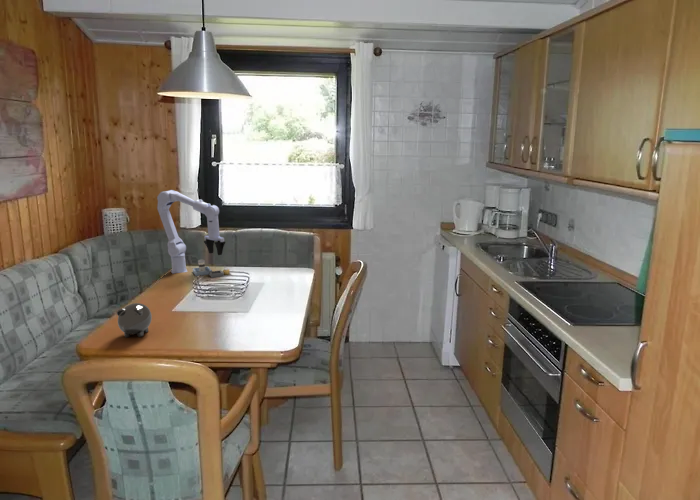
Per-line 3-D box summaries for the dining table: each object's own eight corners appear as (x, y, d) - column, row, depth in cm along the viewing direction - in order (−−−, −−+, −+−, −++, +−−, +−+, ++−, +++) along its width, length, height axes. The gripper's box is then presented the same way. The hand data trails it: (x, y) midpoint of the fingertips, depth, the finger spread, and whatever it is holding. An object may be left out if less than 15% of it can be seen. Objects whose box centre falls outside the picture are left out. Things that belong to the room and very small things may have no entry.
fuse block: (209, 275, 279) (208, 269, 279) (229, 273, 283) (228, 267, 283) (211, 279, 272) (211, 272, 271) (232, 276, 276) (232, 270, 276)
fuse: (198, 272, 284) (197, 260, 283) (204, 272, 286) (203, 259, 284) (200, 274, 281) (199, 261, 280) (206, 273, 283) (205, 260, 282)
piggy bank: (112, 342, 189) (108, 311, 186) (129, 328, 203) (125, 299, 201) (143, 342, 188) (140, 310, 186) (158, 327, 203) (155, 298, 201)
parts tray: (192, 272, 287) (192, 268, 286) (208, 270, 290) (208, 266, 290) (195, 277, 277) (195, 272, 277) (212, 275, 281) (211, 270, 280)
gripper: (198, 228, 282) (201, 253, 285) (215, 230, 273) (217, 256, 276) (210, 226, 288) (212, 251, 291) (226, 228, 279) (228, 254, 281)
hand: (215, 253), depth 284 cm, fingers open, 7 cm apart
